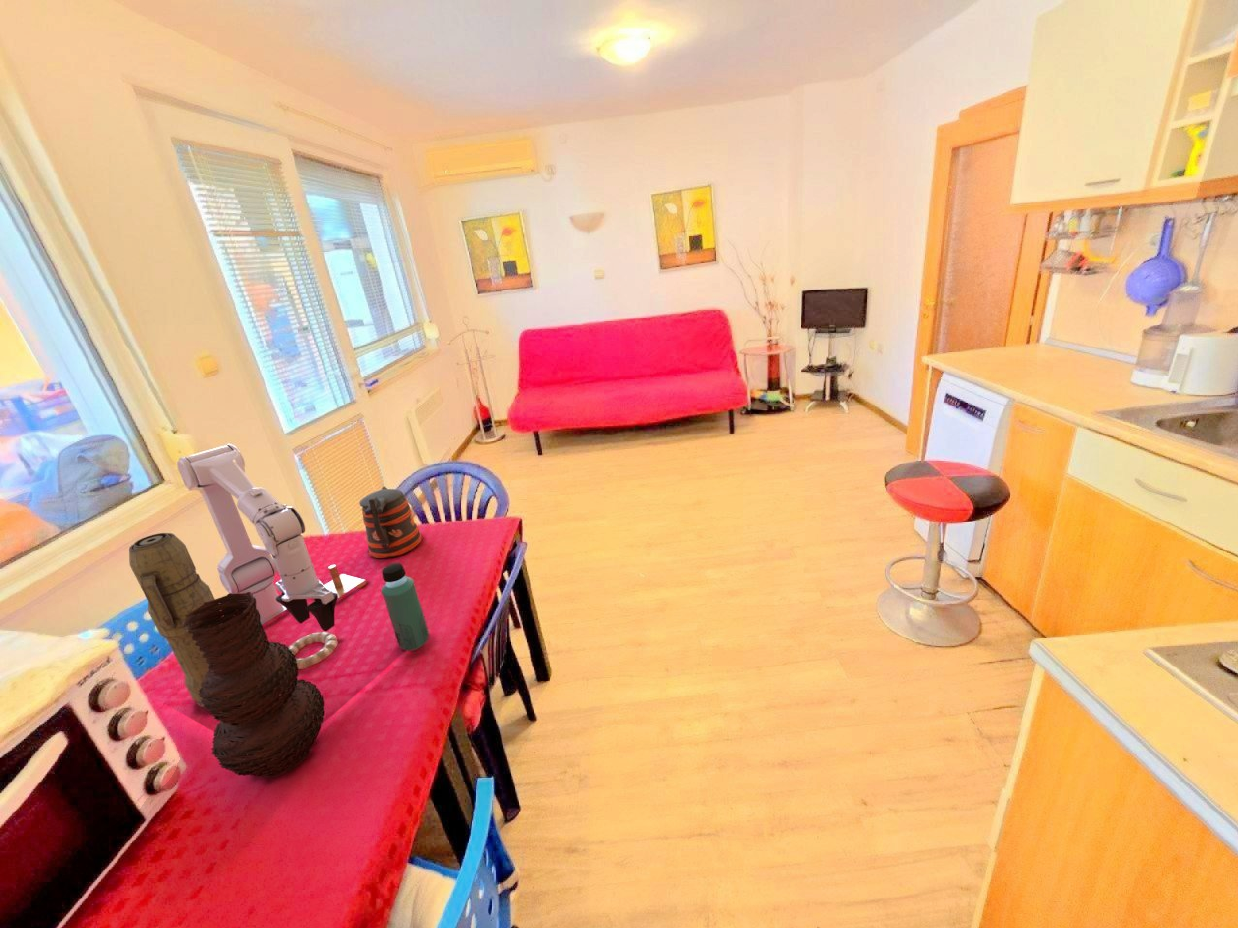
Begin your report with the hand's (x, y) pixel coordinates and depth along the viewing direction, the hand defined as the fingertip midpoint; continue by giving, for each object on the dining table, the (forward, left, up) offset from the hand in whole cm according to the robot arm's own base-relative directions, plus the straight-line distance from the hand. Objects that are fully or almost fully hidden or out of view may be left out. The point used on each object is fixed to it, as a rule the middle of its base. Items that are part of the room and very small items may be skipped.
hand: (316, 624), depth 104 cm
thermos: (-11, -15, -9) cm, 20 cm away
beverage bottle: (+16, +9, -9) cm, 20 cm away
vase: (+15, -19, -9) cm, 26 cm away
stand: (-20, +18, -8) cm, 28 cm away
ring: (-4, -1, -7) cm, 8 cm away
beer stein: (-22, +38, -9) cm, 45 cm away
